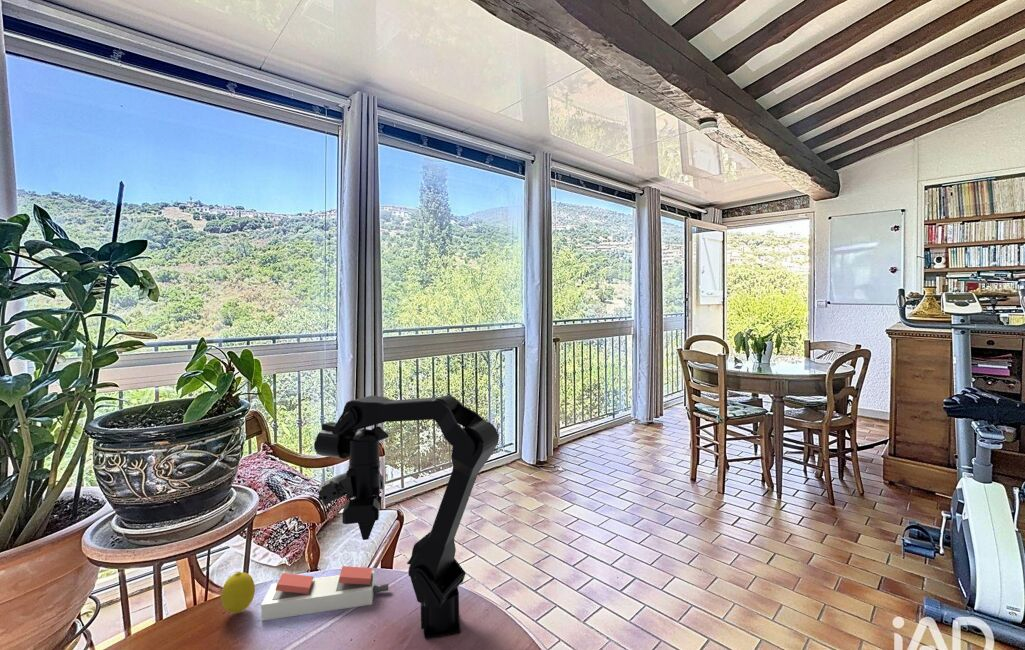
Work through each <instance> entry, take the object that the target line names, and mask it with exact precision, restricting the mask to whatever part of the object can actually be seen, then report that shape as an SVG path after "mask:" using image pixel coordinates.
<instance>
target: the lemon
mask: <svg viewBox="0 0 1025 650" xmlns="http://www.w3.org/2000/svg"><path fill="white" fill-rule="evenodd" d="M255 591H256V585H255V582H254V580H253V577H252V575H250V574H249V573H247V572H243V571H242V572H241V571H237V572H236V573H234V574H232V575H231V576H229V578H227V579H226V581H225V582H224V585H223V586H222V589H221V598H220V600H221V604H222V607H223V608H224V610H225V611H227V612H228V613H232V614H234V613H235V614H237V615H239V614H241V613H242V612H243V611H245V610H246V609H247V608H248V607H249V606H250V605H251V603H252V601H253V599H254V598H255V597H254V596H255Z"/></svg>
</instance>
